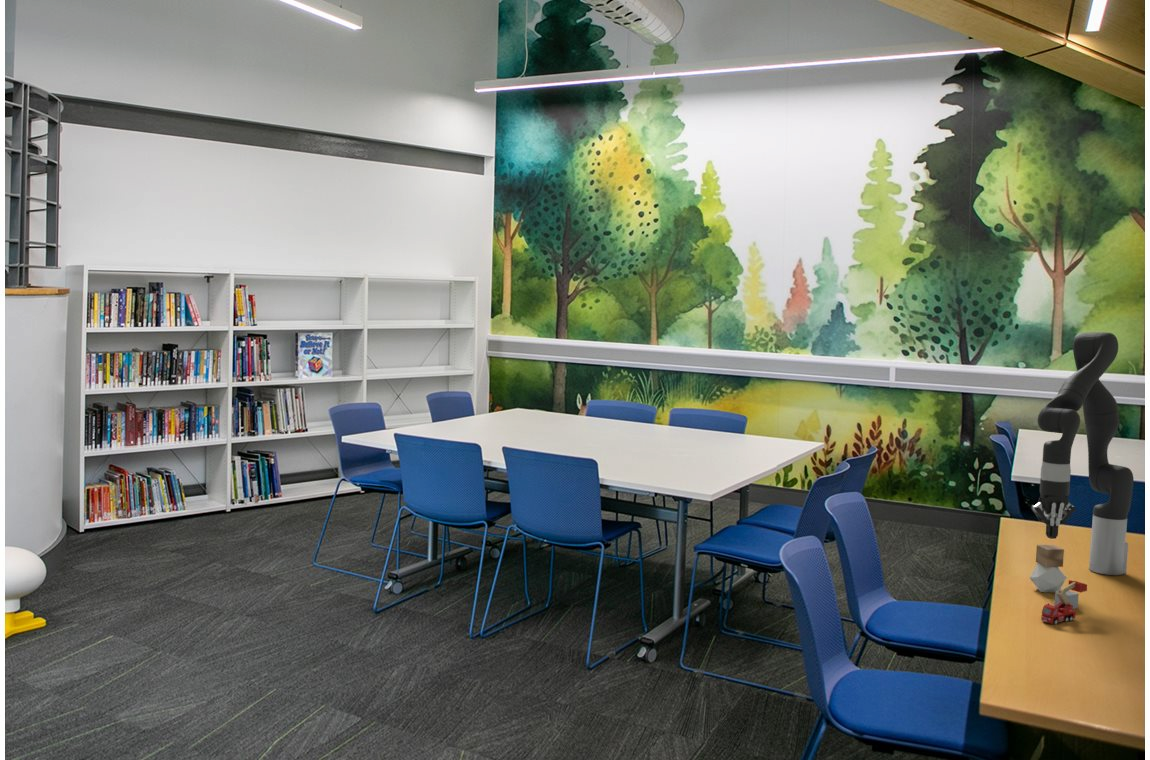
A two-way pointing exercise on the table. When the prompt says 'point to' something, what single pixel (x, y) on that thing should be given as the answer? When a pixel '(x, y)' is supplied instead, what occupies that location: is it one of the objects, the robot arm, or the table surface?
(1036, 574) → the die
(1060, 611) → the toy fire truck
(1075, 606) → the slate block
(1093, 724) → the table surface
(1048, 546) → the walnut block
